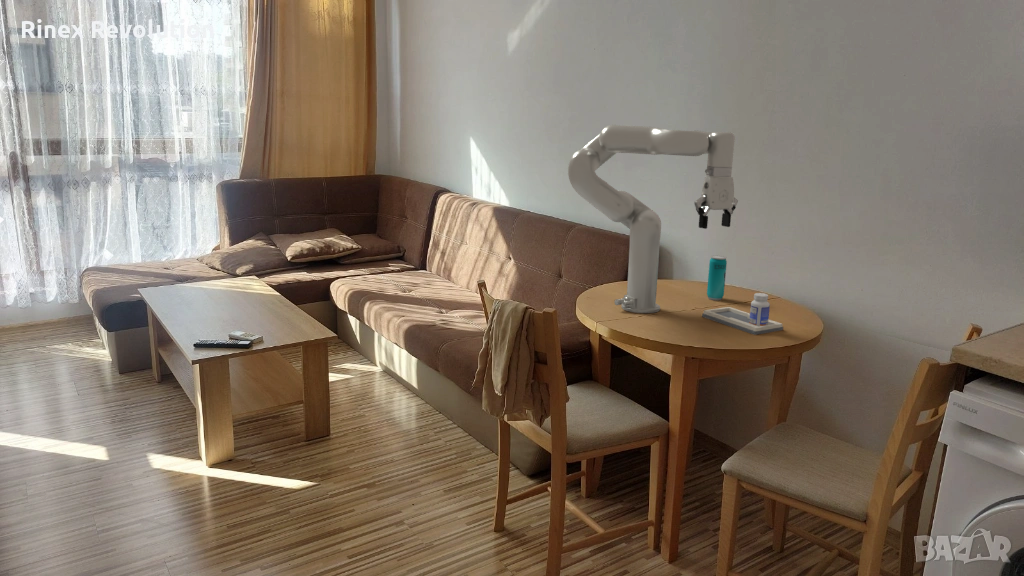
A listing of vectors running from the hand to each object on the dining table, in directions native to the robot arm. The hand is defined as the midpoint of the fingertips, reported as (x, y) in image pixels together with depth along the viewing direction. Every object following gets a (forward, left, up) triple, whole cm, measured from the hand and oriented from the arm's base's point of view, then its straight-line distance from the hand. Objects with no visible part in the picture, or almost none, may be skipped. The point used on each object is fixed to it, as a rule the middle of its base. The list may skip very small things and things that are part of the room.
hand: (714, 227), depth 235 cm
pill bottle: (+2, -20, -28) cm, 34 cm away
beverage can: (+17, +14, -28) cm, 36 cm away
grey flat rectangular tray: (+2, -13, -28) cm, 31 cm away
